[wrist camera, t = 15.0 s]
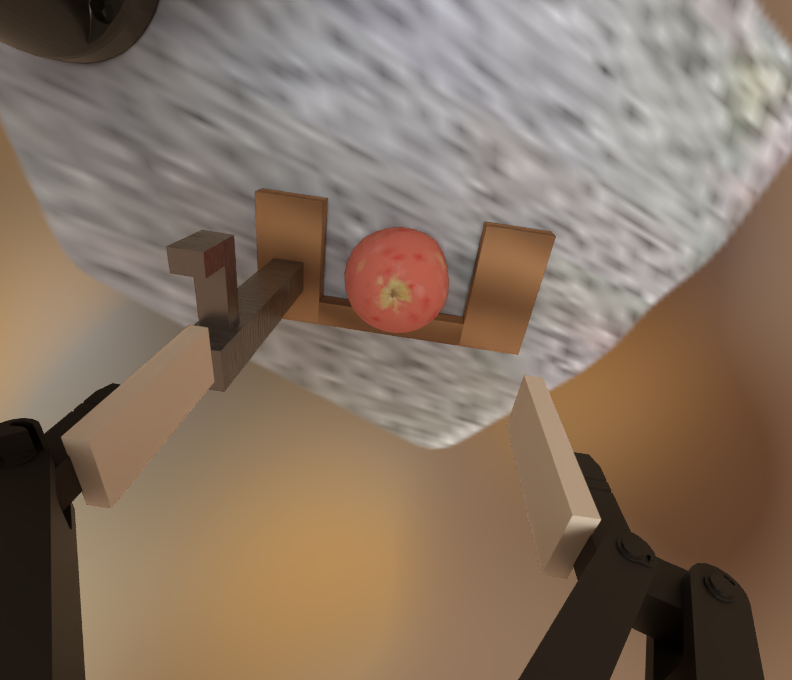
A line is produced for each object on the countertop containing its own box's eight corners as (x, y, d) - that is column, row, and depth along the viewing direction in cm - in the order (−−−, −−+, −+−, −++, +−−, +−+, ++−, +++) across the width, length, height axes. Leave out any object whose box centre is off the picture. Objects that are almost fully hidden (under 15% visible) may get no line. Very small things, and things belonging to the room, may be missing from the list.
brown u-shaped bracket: (262, 188, 31) (254, 191, 29) (550, 231, 30) (555, 236, 29) (266, 307, 36) (259, 315, 34) (515, 346, 35) (518, 354, 34)
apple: (352, 216, 31) (328, 244, 24) (448, 215, 31) (452, 243, 24) (359, 305, 35) (339, 351, 28) (445, 305, 34) (448, 353, 27)
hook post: (272, 194, 29) (155, 245, 17) (304, 198, 29) (211, 254, 17) (274, 286, 33) (177, 384, 21) (303, 290, 33) (224, 391, 21)
